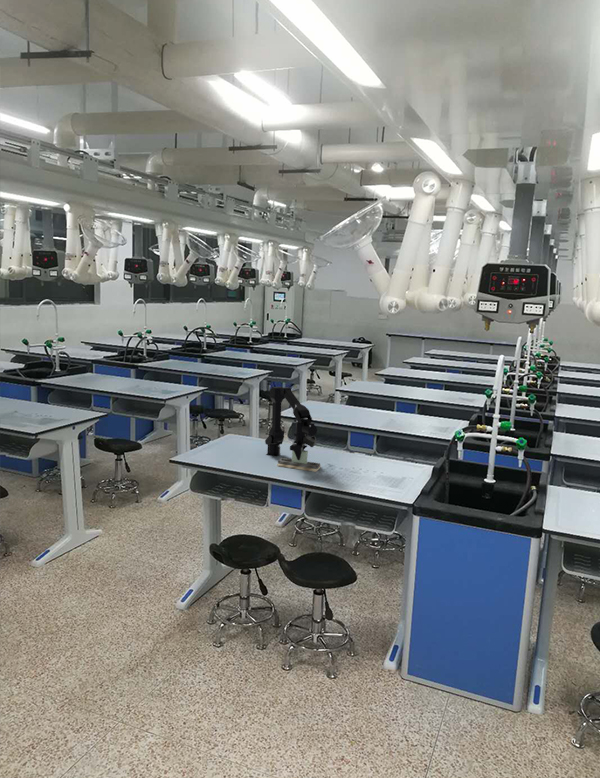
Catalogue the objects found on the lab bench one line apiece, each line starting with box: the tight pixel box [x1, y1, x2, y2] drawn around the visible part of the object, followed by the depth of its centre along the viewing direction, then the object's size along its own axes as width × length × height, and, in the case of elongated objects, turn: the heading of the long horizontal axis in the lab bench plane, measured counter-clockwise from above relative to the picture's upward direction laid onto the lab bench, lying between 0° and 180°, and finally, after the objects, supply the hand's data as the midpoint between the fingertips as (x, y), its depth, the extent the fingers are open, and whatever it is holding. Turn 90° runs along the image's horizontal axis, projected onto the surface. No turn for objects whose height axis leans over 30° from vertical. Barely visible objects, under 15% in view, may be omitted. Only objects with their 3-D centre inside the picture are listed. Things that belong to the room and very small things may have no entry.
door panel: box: [291, 449, 309, 464], centre depth 311 cm, size 8×2×7 cm, turn 73°
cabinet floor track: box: [276, 457, 322, 473], centre depth 312 cm, size 22×9×2 cm, turn 73°
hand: (299, 459), depth 312 cm, fingers closed on door panel, 2 cm apart
